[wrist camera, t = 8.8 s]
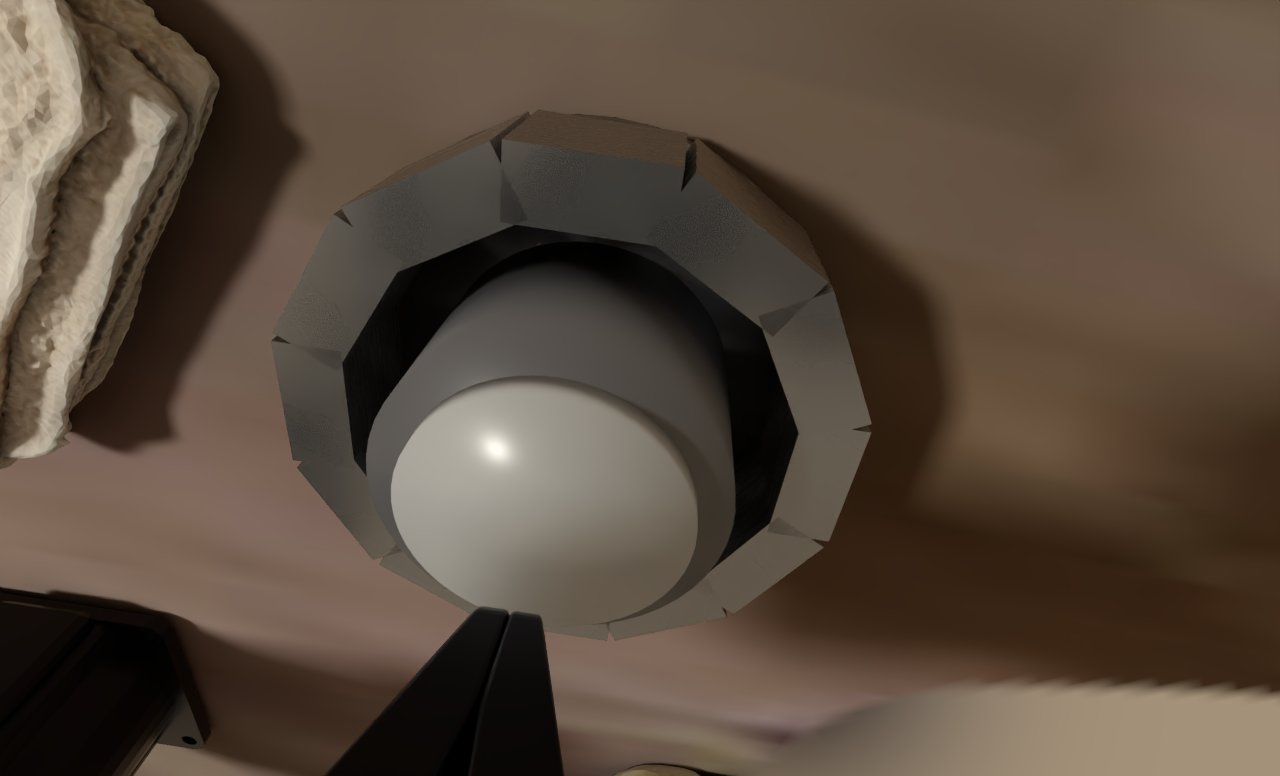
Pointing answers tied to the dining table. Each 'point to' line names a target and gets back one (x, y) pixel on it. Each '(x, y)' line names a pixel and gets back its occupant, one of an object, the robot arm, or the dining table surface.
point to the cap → (562, 440)
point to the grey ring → (599, 213)
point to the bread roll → (656, 771)
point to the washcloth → (83, 193)
